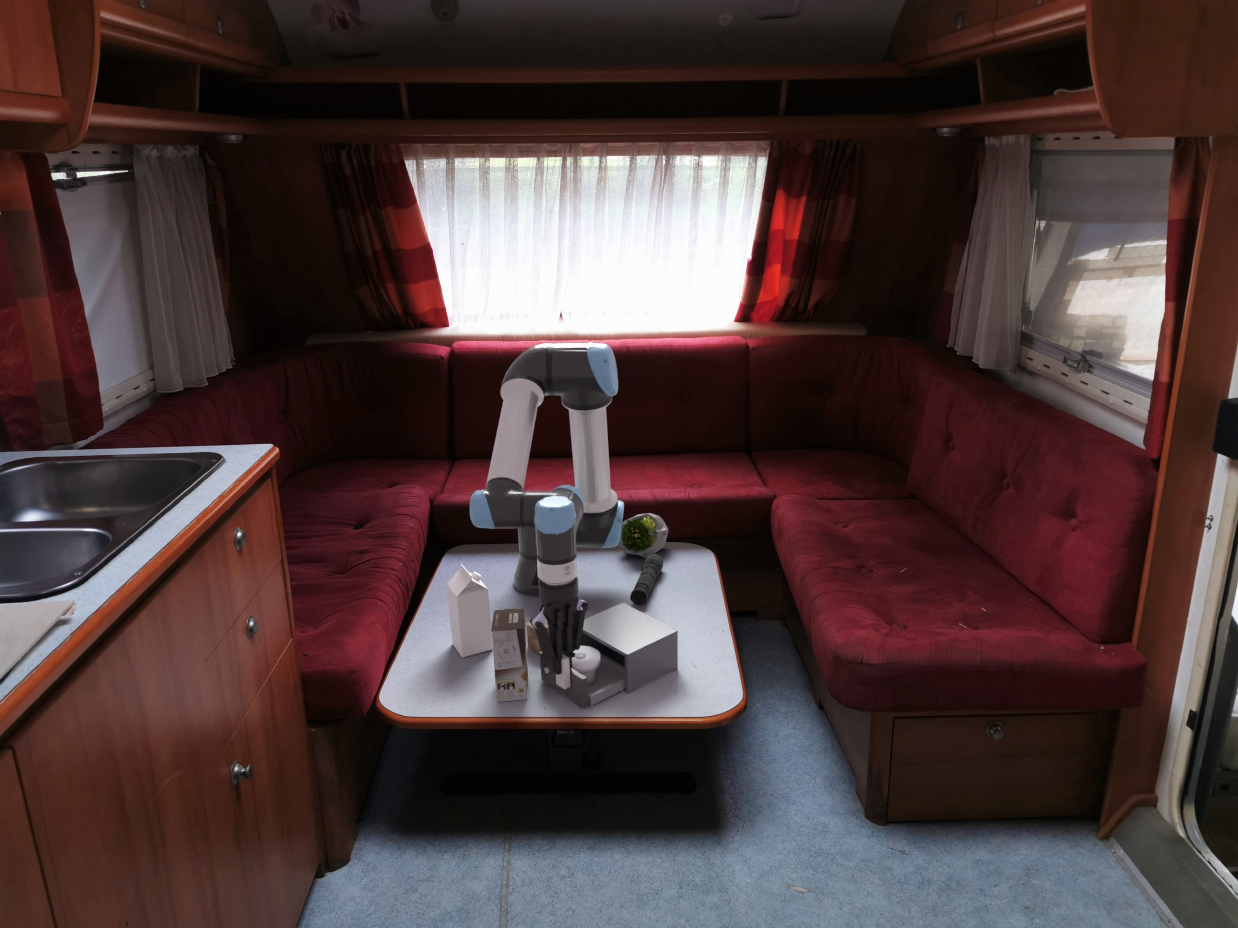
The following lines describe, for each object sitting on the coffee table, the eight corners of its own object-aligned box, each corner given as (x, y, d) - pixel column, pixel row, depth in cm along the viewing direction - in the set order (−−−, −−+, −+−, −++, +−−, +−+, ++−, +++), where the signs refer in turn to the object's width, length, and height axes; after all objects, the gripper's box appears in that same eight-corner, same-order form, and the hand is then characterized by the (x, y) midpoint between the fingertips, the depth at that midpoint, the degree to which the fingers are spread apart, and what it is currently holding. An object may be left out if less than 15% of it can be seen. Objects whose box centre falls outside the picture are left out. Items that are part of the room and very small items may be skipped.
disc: (553, 662, 184) (553, 655, 184) (584, 648, 189) (584, 641, 189) (577, 678, 179) (576, 670, 178) (608, 663, 183) (608, 656, 183)
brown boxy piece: (527, 647, 201) (526, 623, 199) (543, 640, 203) (542, 617, 201) (539, 655, 197) (538, 630, 196) (555, 648, 200) (554, 624, 198)
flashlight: (664, 571, 237) (663, 553, 235) (648, 608, 218) (648, 589, 216) (645, 569, 238) (645, 552, 236) (628, 606, 219) (628, 587, 217)
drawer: (538, 680, 187) (536, 652, 185) (590, 655, 196) (589, 628, 194) (583, 710, 177) (581, 681, 175) (636, 683, 185) (636, 654, 183)
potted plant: (678, 535, 250) (668, 543, 235) (642, 563, 252) (630, 571, 238) (651, 501, 251) (639, 506, 236) (616, 528, 254) (602, 535, 239)
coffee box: (528, 700, 181) (523, 629, 176) (496, 702, 181) (490, 631, 176) (528, 675, 190) (524, 607, 185) (498, 677, 189) (493, 608, 184)
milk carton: (462, 658, 197) (455, 579, 191) (452, 644, 203) (445, 567, 197) (493, 650, 200) (487, 572, 194) (482, 636, 206) (476, 560, 200)
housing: (575, 661, 195) (573, 623, 192) (623, 638, 204) (623, 602, 201) (628, 693, 183) (627, 654, 180) (677, 668, 191) (677, 630, 188)
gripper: (541, 594, 165) (548, 705, 173) (597, 573, 173) (600, 680, 181) (518, 581, 170) (525, 689, 178) (572, 561, 178) (577, 665, 186)
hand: (563, 684), depth 179 cm, fingers closed
